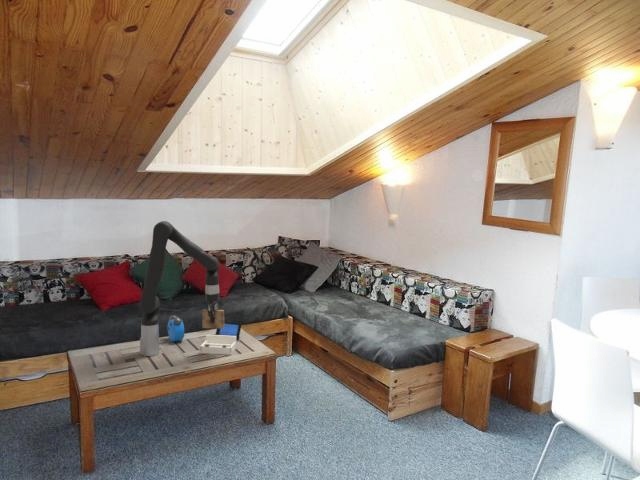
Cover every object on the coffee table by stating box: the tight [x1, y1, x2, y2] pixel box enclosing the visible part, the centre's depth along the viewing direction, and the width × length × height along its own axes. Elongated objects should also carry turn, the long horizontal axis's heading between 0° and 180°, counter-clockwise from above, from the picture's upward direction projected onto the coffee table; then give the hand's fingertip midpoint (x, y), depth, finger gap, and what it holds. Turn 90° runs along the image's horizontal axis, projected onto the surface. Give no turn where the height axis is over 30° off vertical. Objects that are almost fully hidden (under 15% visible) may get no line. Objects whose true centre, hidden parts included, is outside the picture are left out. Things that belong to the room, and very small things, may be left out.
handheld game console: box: [214, 321, 242, 342], centre depth 295 cm, size 16×13×9 cm
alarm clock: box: [167, 315, 185, 342], centre depth 290 cm, size 13×6×15 cm, turn 37°
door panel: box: [201, 309, 226, 329], centre depth 269 cm, size 12×2×10 cm, turn 85°
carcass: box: [199, 334, 237, 356], centre depth 275 cm, size 18×12×7 cm
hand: (213, 322), depth 269 cm, fingers closed on door panel, 2 cm apart
